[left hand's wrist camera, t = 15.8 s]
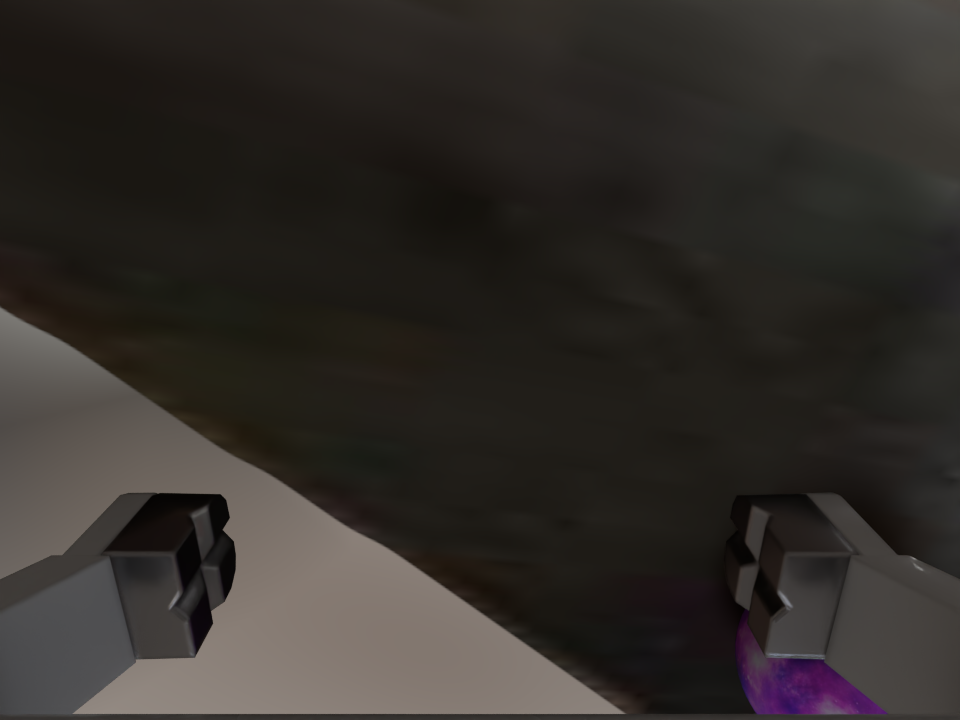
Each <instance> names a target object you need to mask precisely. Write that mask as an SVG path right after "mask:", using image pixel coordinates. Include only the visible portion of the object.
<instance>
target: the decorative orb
mask: <svg viewBox="0 0 960 720" xmlns="http://www.w3.org/2000/svg"><path fill="white" fill-rule="evenodd" d="M748 615H749V611H748V610H747V609H745V610H744V612H743V614H742V616H741V619H740V622H739V625H738V629H737V634H736V641H735V656H736V665H737V670H738V674H739V678H740V681H741V684H742V687H743V689H744V692H745V694H746V696H747V698H748V700H749V702H750V704H751V706H752V707H753V709H754V710H755V712H756V713H757V714H888V713H886V712H885V711H884V710H883V709H882V708H880V707H879V706H878V705H877V704H875V703H874V702H873V701H872V700H870V699H869V698H868V697H867V696H865V695H864V694H863V693H862V692H861V691H859V690H858V689H857V688H856V687H854V686H853V685H852V684H851V683H849V682H848V681H847V680H846V679H844V678H843V677H842V676H841V675H839V674H838V673H837V672H836V671H835V670H833V669H832V668H831V667H830V666H828V665H827V664H826V663H825V662H824V660H825V659H793V658H765V656H764V654H763V652H762V651H761V649H760V647H759V645H758V643H757V641H756V639H755V638H754V636H753V634H752V632H751V630H750V628H749V626H748V624H747V620H748Z"/></svg>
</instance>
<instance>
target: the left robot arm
mask: <svg viewBox="0 0 960 720" xmlns="http://www.w3.org/2000/svg"><path fill="white" fill-rule="evenodd" d="M229 518H230V516H229V511H228V507H227V502H226V499H225V498H224V497H223V496H222V495H221V494H180V493H159V494H157V493H127V494H123V495H120V496H119V497H118V498H117V499H116V500H115V501H114V502H113V503H112V504H111V505H110V506H109V507H108V508H107V509H106V510H105V511H104V513H103V514H102V515H101V516H100V517H99V518H98V519H97V520H96V521H95V522H94V523H93V524H92V525H91V526H90V527H89V528H88V529H87V530H86V531H85V532H84V533H83V534H82V535H81V536H80V537H79V538H78V539H77V541H76V542H75V543H74V544H73V545H72V546H71V547H70V548H69V549H68V550H67V551H66V552H65V553H64V554H63V555H53V556H49V557H47V558H45V559H43V560H41V561H39V562H37V563H34V564H32V565H30V566H28V567H26V568H24V569H22V570H19V571H17V572H15V573H13V574H11V575H9V576H6V577H4V578H2V579H0V720H960V579H958V578H956V577H953V576H951V575H949V574H947V573H945V572H943V571H941V570H938V569H936V568H934V567H932V566H930V565H928V564H926V563H923V562H921V561H919V560H917V559H915V558H913V557H911V556H908V555H897V554H896V553H895V552H894V551H893V550H892V549H891V548H890V547H889V546H888V545H887V544H886V543H885V541H884V540H883V539H882V538H881V537H880V536H879V535H878V534H877V533H876V532H875V531H874V530H873V529H872V528H871V527H870V526H869V525H868V524H867V523H866V522H865V521H864V520H863V519H862V518H861V517H860V515H859V514H858V513H857V512H856V511H855V510H854V509H853V508H852V507H851V506H850V505H849V504H848V503H847V502H846V501H845V500H844V499H843V498H842V497H841V496H840V495H837V494H835V493H832V492H830V493H803V494H774V495H737V496H736V498H735V500H734V502H733V505H732V511H731V516H730V518H731V520H732V522H733V523H734V525H735V527H736V528H737V531H736V532H735V533H734V534H733V535H732V536H731V537H730V538H729V539H728V540H727V541H726V547H725V555H724V565H725V576H726V580H727V583H728V587H729V590H730V592H731V594H732V596H733V598H734V600H735V602H737V603H738V604H740V605H741V606H742V607H744V608H745V609H747V610H748V611H749V615H748V620H747V624H748V626H749V628H750V630H751V632H752V634H753V636H754V638H755V639H756V641H757V643H758V645H759V647H760V649H761V651H762V652H763V654H764V656H765V658H793V659H825V660H824V662H825V663H826V664H827V665H828V666H830V667H831V668H832V669H833V670H835V671H836V672H837V673H838V674H839V675H841V676H842V677H843V678H844V679H846V680H847V681H848V682H849V683H851V684H852V685H853V686H854V687H856V688H857V689H858V690H859V691H861V692H862V693H863V694H864V695H865V696H867V697H868V698H869V699H870V700H872V701H873V702H874V703H875V704H877V705H878V706H879V707H880V708H882V709H883V710H884V711H885V712H886V713H888V714H72V713H74V712H75V711H76V710H77V709H79V708H80V707H81V706H82V705H84V704H85V703H86V702H87V701H89V700H90V699H91V698H92V697H94V696H95V695H96V694H97V693H98V692H100V691H101V690H102V689H103V688H105V687H106V686H107V685H108V684H110V683H111V682H112V681H113V680H115V679H116V678H117V677H118V676H120V675H121V674H122V673H123V672H125V671H126V670H127V669H128V668H129V667H131V666H132V665H133V664H134V663H135V662H136V660H135V659H165V658H195V656H196V654H197V653H198V651H199V649H200V647H201V645H202V643H203V641H204V639H205V638H206V636H207V634H208V632H209V630H210V628H211V626H212V624H213V620H212V614H211V611H212V610H213V609H215V608H216V607H217V606H219V605H220V604H222V603H223V602H225V600H226V598H227V596H228V594H229V592H230V590H231V587H232V583H233V579H234V574H235V569H236V553H235V546H234V541H233V540H232V539H231V538H230V537H229V536H228V535H227V534H226V533H225V532H224V531H223V528H224V526H225V525H226V523H227V522H228V520H229Z"/></svg>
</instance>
